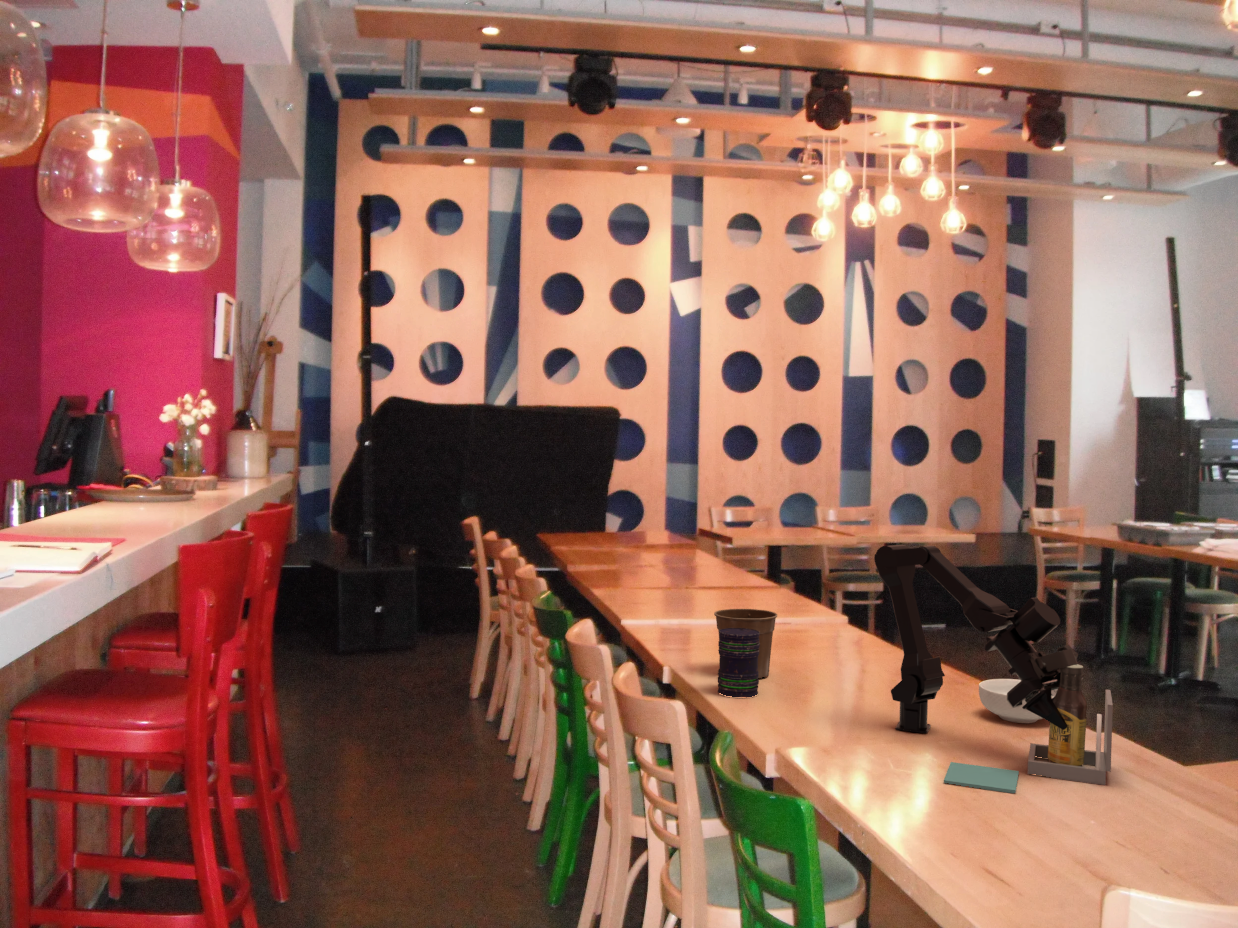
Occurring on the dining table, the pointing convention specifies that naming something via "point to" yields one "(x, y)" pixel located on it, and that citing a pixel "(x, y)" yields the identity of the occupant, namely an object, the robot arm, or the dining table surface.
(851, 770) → the dining table surface
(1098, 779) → the open lid tray
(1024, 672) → the robot arm
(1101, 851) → the dining table surface
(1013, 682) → the cereal bowl
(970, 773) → the rubber pad
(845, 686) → the dining table surface
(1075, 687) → the sauce bottle
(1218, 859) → the dining table surface
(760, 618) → the plant pot
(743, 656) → the storage jar
